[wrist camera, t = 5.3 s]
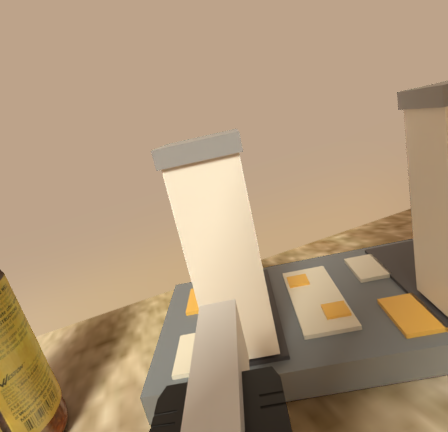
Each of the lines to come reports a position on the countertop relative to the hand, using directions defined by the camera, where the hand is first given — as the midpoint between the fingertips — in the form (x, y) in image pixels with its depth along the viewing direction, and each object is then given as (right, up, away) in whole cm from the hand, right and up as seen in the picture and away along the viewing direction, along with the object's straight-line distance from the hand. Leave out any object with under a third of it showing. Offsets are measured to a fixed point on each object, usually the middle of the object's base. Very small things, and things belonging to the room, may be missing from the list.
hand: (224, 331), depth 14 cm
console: (+7, -3, +12) cm, 14 cm away
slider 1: (+1, -3, +8) cm, 9 cm away
